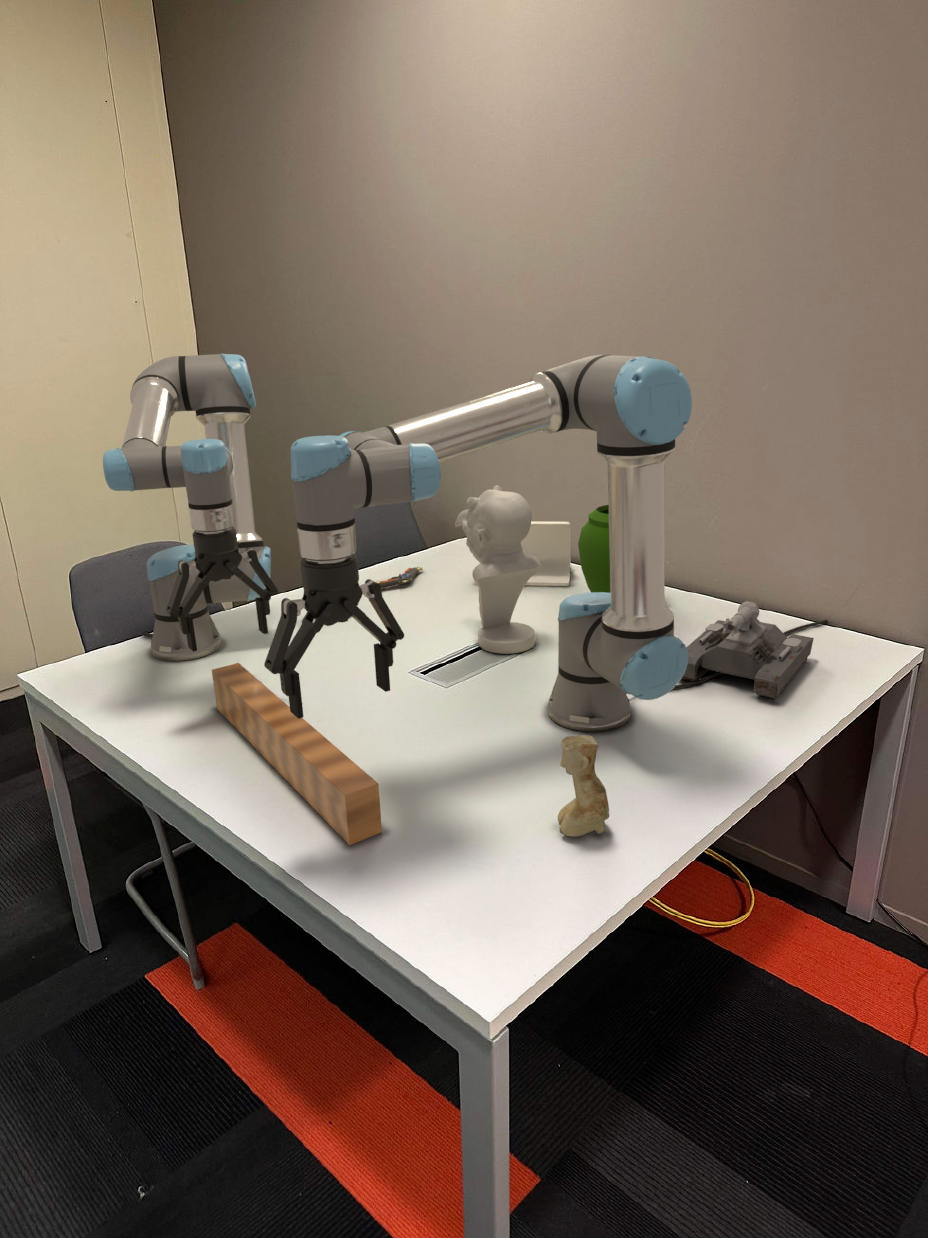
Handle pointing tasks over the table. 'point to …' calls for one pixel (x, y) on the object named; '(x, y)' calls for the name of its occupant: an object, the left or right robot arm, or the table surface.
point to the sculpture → (583, 788)
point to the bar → (300, 754)
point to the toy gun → (400, 578)
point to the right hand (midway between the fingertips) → (341, 701)
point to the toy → (749, 652)
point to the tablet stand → (549, 552)
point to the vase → (596, 550)
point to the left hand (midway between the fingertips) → (229, 640)
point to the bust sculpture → (500, 566)
